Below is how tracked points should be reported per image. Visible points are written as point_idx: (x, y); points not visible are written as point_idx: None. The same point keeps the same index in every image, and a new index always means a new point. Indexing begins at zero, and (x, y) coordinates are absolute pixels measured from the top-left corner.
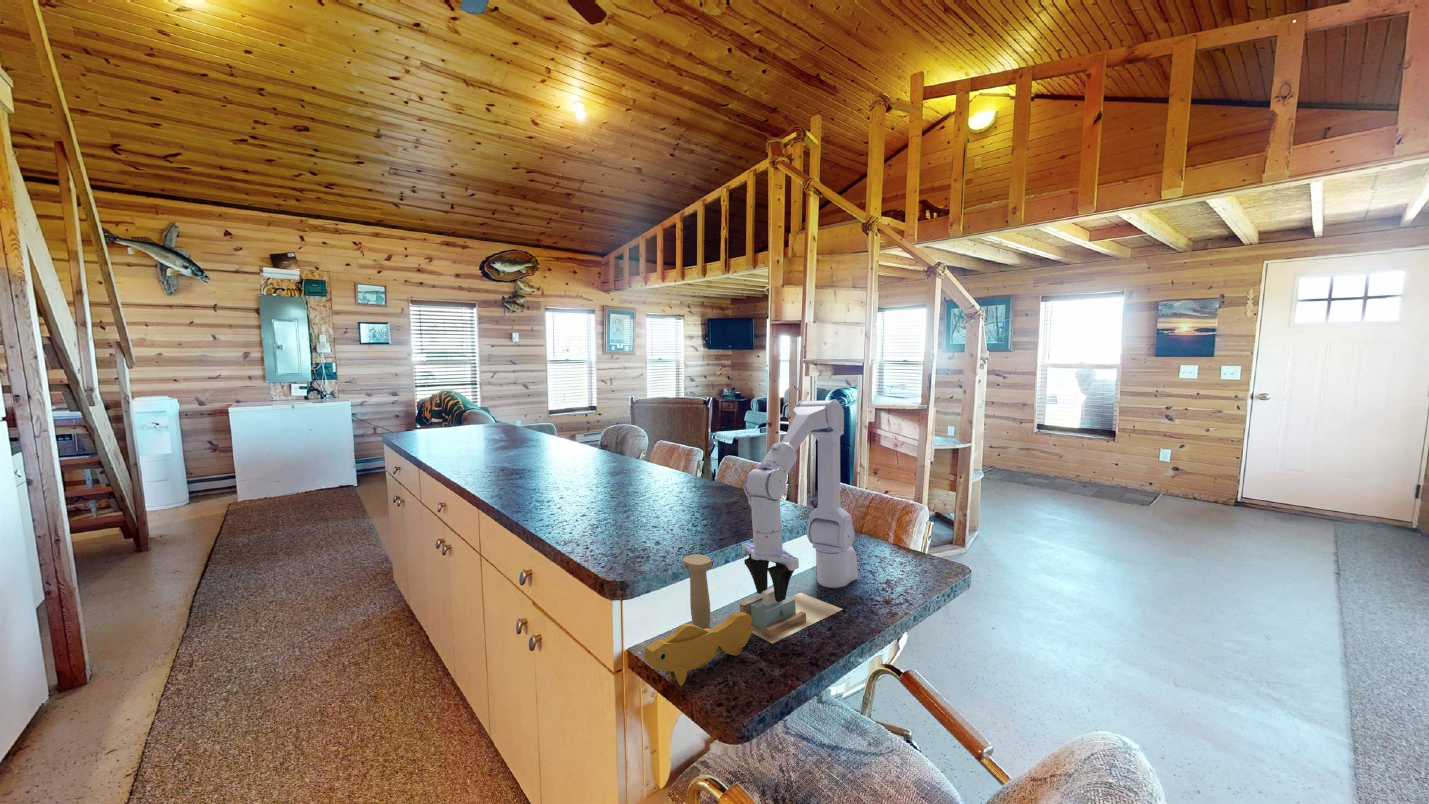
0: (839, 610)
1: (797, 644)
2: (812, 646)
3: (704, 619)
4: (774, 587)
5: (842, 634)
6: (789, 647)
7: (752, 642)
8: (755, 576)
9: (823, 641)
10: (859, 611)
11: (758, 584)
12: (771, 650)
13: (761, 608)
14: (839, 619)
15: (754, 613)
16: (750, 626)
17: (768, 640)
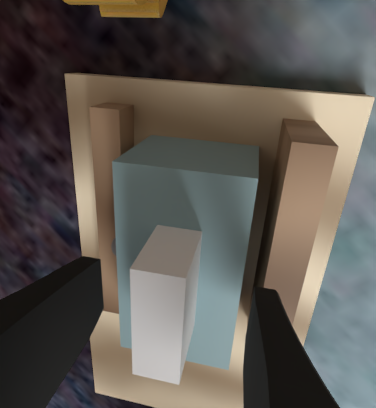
0: (95, 383)
1: (48, 163)
2: (11, 183)
3: None
4: (18, 308)
5: (18, 288)
6: (48, 127)
7: (174, 50)
8: (266, 393)
9: (17, 228)
10: (84, 403)
11: (258, 338)
12: (71, 59)
13: (164, 180)
14: (86, 351)
15: (226, 161)
16: (119, 11)
17: (93, 81)
